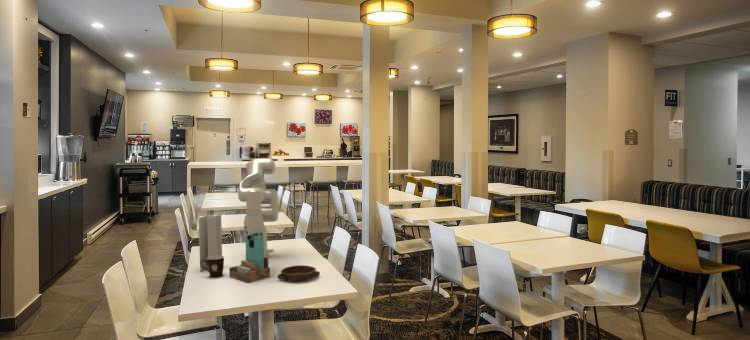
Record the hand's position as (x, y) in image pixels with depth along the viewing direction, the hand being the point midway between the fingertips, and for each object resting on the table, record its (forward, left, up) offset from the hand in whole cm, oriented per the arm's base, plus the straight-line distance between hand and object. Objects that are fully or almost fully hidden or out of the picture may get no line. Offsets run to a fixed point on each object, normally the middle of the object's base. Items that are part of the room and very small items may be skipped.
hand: (254, 246), depth 250 cm
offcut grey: (+7, 0, -16) cm, 17 cm away
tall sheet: (0, 0, -16) cm, 16 cm away
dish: (-12, +22, -16) cm, 30 cm away
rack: (+3, 0, -16) cm, 16 cm away
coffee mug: (+14, -17, -16) cm, 27 cm away
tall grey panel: (+8, -31, -16) cm, 36 cm away
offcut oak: (+3, 0, -16) cm, 16 cm away
